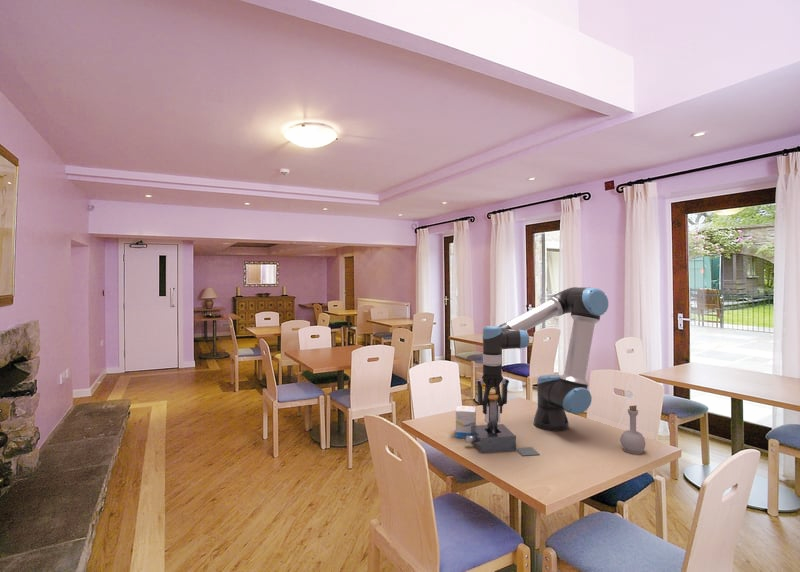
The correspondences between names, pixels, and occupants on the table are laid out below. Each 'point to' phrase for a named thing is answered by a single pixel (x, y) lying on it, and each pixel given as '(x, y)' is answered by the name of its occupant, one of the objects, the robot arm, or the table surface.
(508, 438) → the block
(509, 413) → the table surface
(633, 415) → the potion bottle
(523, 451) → the mat
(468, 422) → the ink box
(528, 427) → the table surface
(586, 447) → the table surface
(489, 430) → the grey cylinder with cap
